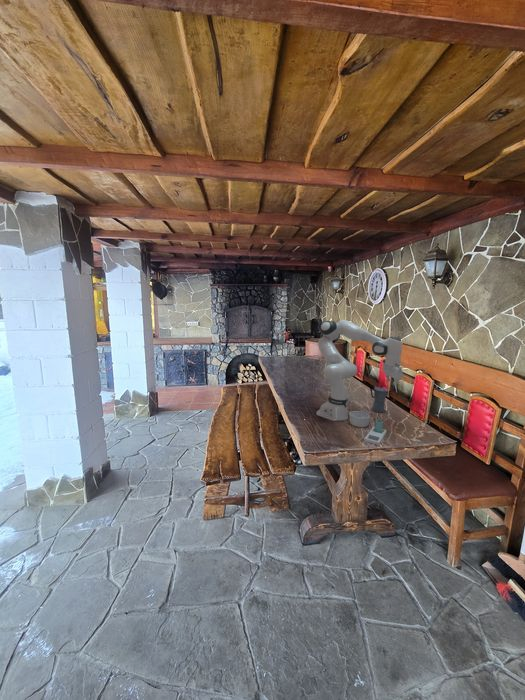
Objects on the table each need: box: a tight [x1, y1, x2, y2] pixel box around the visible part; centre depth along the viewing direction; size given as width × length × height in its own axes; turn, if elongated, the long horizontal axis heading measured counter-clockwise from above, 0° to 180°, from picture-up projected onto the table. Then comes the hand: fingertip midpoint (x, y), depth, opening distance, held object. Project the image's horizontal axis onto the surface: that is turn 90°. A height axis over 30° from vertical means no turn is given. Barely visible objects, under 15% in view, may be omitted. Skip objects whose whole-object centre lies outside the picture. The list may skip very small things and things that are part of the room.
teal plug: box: [374, 418, 384, 433], centre depth 173 cm, size 4×4×9 cm
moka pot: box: [369, 385, 390, 414], centre depth 211 cm, size 10×15×20 cm, turn 39°
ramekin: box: [348, 410, 371, 428], centre depth 187 cm, size 13×13×7 cm
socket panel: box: [363, 426, 388, 446], centre depth 169 cm, size 8×20×2 cm, turn 145°
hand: (391, 383), depth 182 cm, fingers open, 8 cm apart
